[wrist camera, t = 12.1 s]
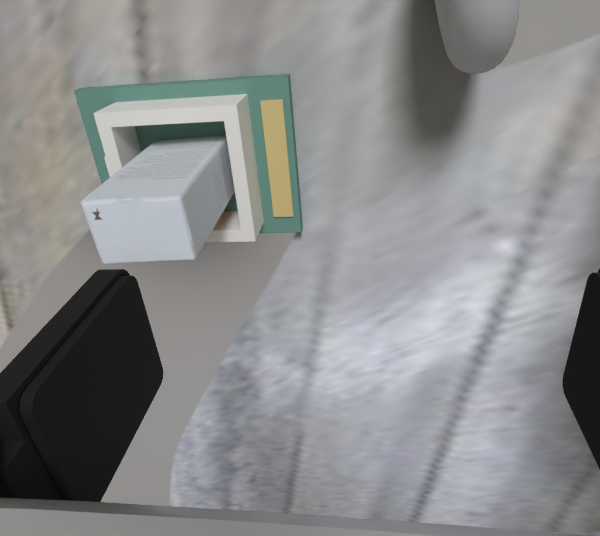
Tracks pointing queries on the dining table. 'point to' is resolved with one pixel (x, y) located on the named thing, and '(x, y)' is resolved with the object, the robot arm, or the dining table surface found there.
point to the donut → (477, 31)
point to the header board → (206, 123)
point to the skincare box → (161, 202)
